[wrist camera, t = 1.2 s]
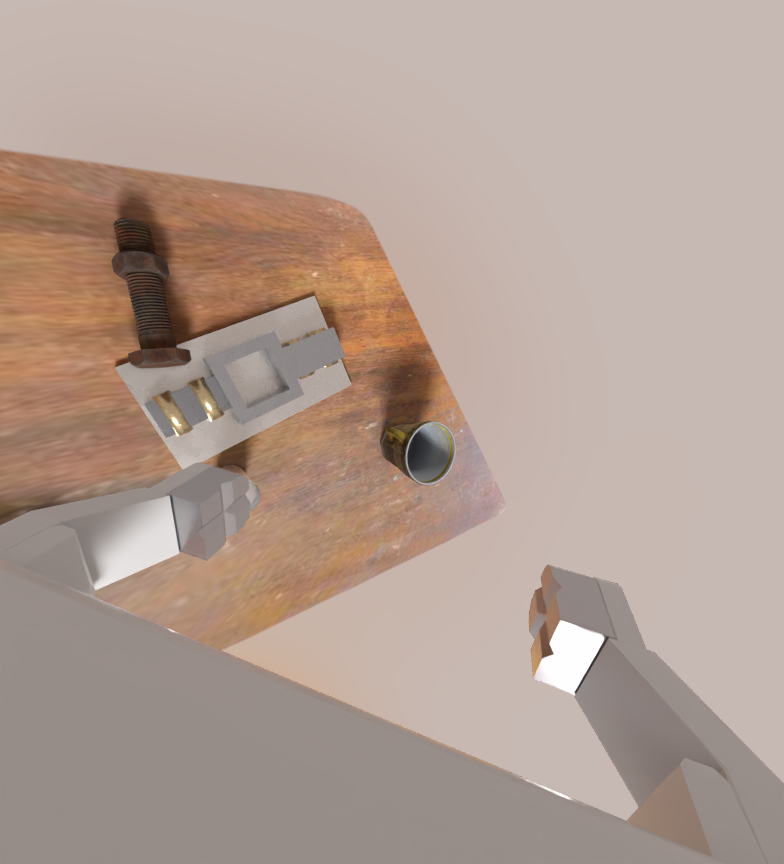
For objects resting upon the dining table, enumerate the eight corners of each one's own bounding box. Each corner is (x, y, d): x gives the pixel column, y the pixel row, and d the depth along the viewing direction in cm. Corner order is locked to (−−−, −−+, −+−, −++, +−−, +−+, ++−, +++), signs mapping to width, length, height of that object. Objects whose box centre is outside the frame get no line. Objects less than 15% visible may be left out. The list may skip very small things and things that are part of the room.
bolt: (142, 238, 41) (171, 368, 43) (90, 224, 36) (124, 369, 39) (170, 221, 38) (200, 361, 40) (117, 204, 34) (153, 362, 36)
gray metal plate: (115, 367, 40) (111, 366, 37) (313, 296, 51) (322, 291, 48) (183, 470, 45) (185, 476, 42) (350, 384, 56) (360, 385, 53)
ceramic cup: (426, 431, 66) (464, 438, 57) (403, 479, 64) (439, 494, 56) (375, 397, 59) (410, 400, 50) (348, 450, 57) (379, 462, 49)
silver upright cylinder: (207, 474, 46) (216, 493, 39) (236, 459, 48) (250, 474, 40) (222, 498, 48) (234, 521, 40) (250, 483, 49) (266, 501, 42)
